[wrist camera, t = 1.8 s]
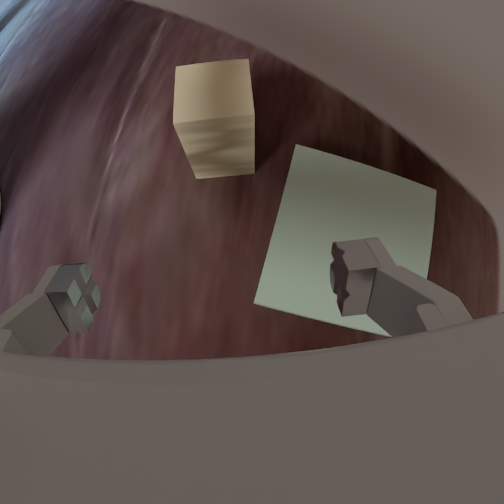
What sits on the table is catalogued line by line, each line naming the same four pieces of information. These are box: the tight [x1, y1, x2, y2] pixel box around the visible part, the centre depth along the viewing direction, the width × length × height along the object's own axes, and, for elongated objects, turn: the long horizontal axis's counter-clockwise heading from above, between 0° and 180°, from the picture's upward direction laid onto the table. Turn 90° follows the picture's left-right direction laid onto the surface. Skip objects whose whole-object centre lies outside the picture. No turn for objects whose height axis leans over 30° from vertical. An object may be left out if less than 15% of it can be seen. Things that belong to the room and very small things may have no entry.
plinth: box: [254, 144, 436, 337], centre depth 24 cm, size 12×12×4 cm
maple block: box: [173, 59, 255, 179], centre depth 23 cm, size 5×5×9 cm
